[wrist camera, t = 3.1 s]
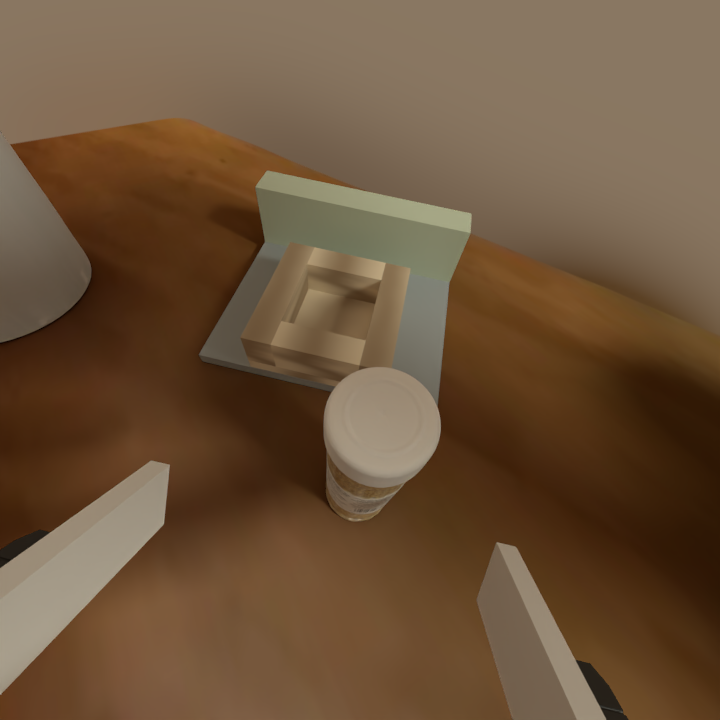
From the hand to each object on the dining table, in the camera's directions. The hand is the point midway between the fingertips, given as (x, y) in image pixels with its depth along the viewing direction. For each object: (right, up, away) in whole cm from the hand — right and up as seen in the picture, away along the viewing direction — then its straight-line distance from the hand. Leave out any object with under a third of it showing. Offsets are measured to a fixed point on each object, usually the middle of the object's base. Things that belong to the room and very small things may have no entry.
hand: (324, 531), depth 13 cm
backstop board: (0, +12, +20) cm, 23 cm away
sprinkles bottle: (+1, -3, +11) cm, 11 cm away
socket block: (-1, +9, +17) cm, 19 cm away
